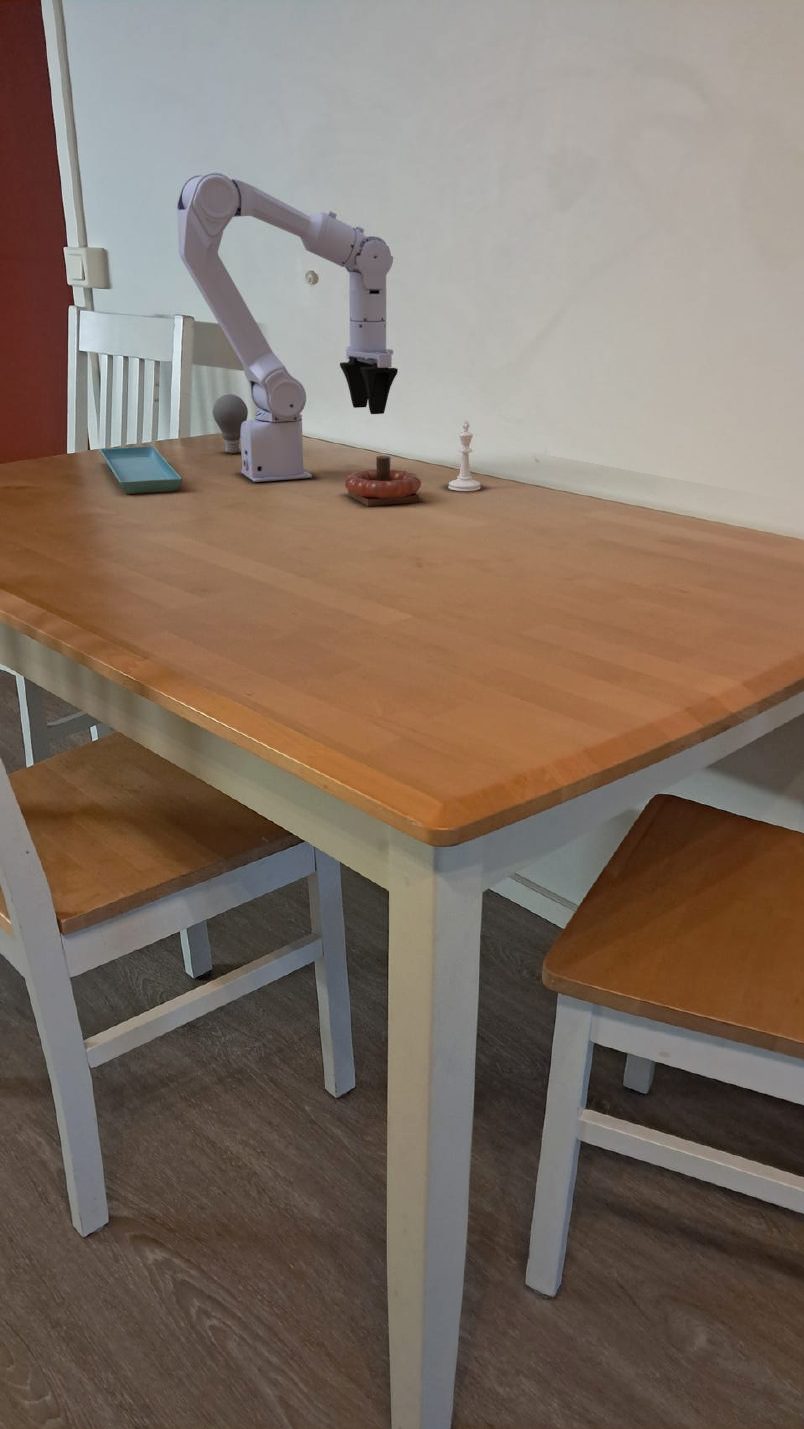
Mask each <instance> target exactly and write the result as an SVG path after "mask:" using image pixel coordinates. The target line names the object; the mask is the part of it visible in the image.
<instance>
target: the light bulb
mask: <svg viewBox="0 0 804 1429" xmlns="http://www.w3.org/2000/svg"><path fill="white" fill-rule="evenodd" d="M212 415H213V419H214V421H215V423H216V424H217V426H218V427H219V430H220V432H221V436H222V438H223V440H224V446H225V447H224V451H225V452H226V453H228V454H230V455H235V454H237V453H238V452H241V447H240V445H241V442H240V440H241V425H242V423H243V422H244V421H248V415H249V410H248V406H247V404H246V403H245V401H244V400H243V399H242V398H241V397H240V396H238V395H235V394H231V393H227V394H223V395H221V396H220V397H219V398H218V399H217V400H216V401H215V402H214V405H213V407H212Z"/></svg>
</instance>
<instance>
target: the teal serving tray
mask: <svg viewBox="0 0 804 1429" xmlns="http://www.w3.org/2000/svg"><path fill="white" fill-rule="evenodd" d="M99 453H100V454H101V456H102V457H103V459H104V461H105V463H106V464H107V466H108V468H109V470H110V471H111V473H112V474H113V476H114V477H115V479H116V480H117V482H118V484H119V485H120V487H121V489H122V490H123V491H124V493H125V494H127V495H130V494H133V495H134V494H145V493H146V494H148V493H165V492H166V493H168V492H176V491H177V490H178V488H179V486H180V484H181V482H182V480H183V478H182V476H181V475H179V473H178V472H177V471H176V470H175V469H174V468H173V467H172V465H171V464H170V462H168V461H167V459H166V458H165V457H164V456H163V455H162V453H161V452H160V451H159V450H158V449H157V447H156V446H154V445H147V446H145V445H144V446H128V447H127V446H126V447H111V448H100V449H99Z"/></svg>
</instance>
